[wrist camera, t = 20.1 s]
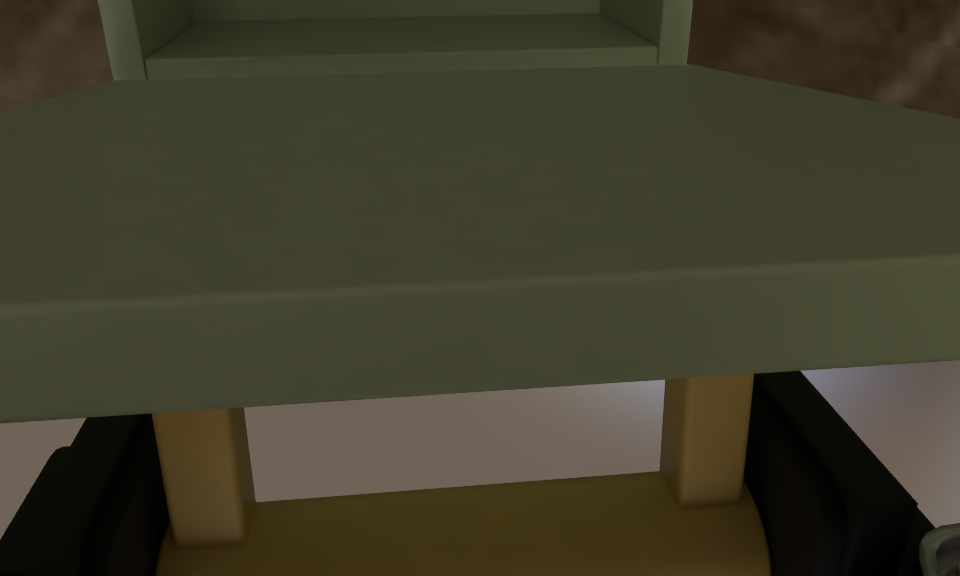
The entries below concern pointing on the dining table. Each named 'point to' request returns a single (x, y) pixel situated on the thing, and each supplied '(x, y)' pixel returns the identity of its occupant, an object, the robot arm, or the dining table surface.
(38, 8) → the dining table surface
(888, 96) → the dining table surface
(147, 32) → the chest
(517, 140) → the lid
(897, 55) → the dining table surface
